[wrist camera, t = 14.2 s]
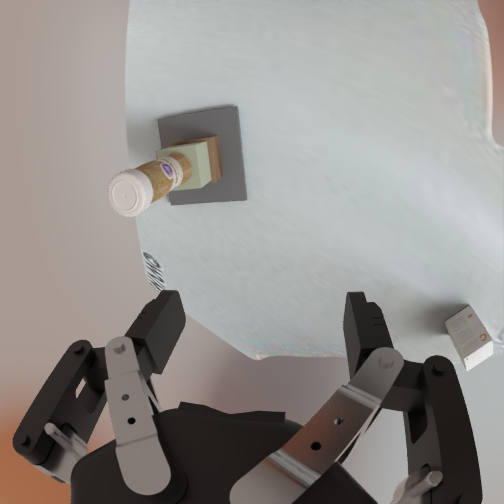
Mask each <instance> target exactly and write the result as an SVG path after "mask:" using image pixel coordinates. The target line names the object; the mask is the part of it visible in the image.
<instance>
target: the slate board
mask: <svg viewBox="0 0 504 504" xmlns="http://www.w3.org/2000/svg"><path fill="white" fill-rule="evenodd" d="M158 124H159V132H160V139H161V146H162V149H164V148H167V144H170V143H173V142H177V141H183V140H189V139H196V138H203V137H211V136H218V137H219V146H220V154H221V163H222V171H223V177H221V178H220V179H219V180H218V181H217V182H216V183H208V184H206V185H205V186H203V187H202V188H197V189H186V190H176V191H171V192H169V196H170V201H171V205H183V204H196V203H210V202H226V201H245V200H247V193H246V183H245V173H244V163H243V153H242V143H241V133H240V123H239V113H238V107H230V108H222V109H215V110H208V111H202V112H196V113H190V114H184V115H179V116H174V117H169V118H164V119H160V120H158Z"/></svg>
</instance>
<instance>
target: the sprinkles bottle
mask: <svg viewBox="0 0 504 504" xmlns="http://www.w3.org/2000/svg"><path fill="white" fill-rule="evenodd" d="M191 173H192V166H191V163H190V160H189V159H188V158H187V157H186V156H185V155H183V154H180V153H172V154H170V155H168V156H166V157H162V158H159V159H156V160H153V161H151V162H148V163H146V164H143V165H141V166H139V167H137V168H135V169H128V170H125V171H123V172H120V173H118V174H117V175H115V176H114V177H113V178H112V179H111V181H110V183H109V186H108V199H109V202H110V204H111V206H112V207H113V209H114V210H115V211H116V212H117V213H118V214H120V215H122V216H125V217H133V216H136V215H138V214H140V213H141V212H143V211H144V210H145V209H147V208H148V207H149V205H150V204H151V203H153V202H154V201H157V200H159V199H160V198H162V197H163V196H165V195H166V194H168V193H169V192H171V191H172V190H174V189H175V188H176V187H177V186H179V185H181V184H183V183H185V182H187V181H188V180H189V178H190V176H191Z"/></svg>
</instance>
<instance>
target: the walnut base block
mask: <svg viewBox="0 0 504 504" xmlns="http://www.w3.org/2000/svg"><path fill="white" fill-rule="evenodd" d="M206 141H207V148H208V156H209V164H210V171H211V179H212V180H211V181H210V182H208V183H216V182H217V181H218V180H219V179H220V178H221V177H223V171H222V163H221V154H220V146H219V137H218V136H211V137H203V138H196V139H189V140H183V141H177V142H173V143H170V144H167V148H168V147H172V146H178V145H185V144H191V143H198V142H206ZM208 183H207V184H208Z"/></svg>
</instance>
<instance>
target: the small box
mask: <svg viewBox="0 0 504 504" xmlns="http://www.w3.org/2000/svg"><path fill="white" fill-rule="evenodd" d="M445 324H446V327H447V330H448V333H449V336H450V338H451V340H452V342H453V344H454V346H455V348H456V350H457V352H458V354H459V356H460V359H461V361H462V363H463V365H464V367H465V369H466V371H468V370H469V369H471V368H473V367H474V366H476V365H477V364H479V363H480V362H481V361H483V360H485V359H486V358H487V357H489V356H490V355H492V354H493V341H492V338H491V337H490V335H489V333H488V332H487V330H486V329H485V327H484V325H483V324H482V322H481V321H480V319H479V318H478V316H477V315H476V313H475V312H474V310H473V309H472V307H471V306H470V305H469V306H467V307H466V308H464V309H463V310H462V311H460V312H459V313H457V314H456V315H454V316H453V317H451V318H450V319H448V320H447V321H445Z"/></svg>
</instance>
